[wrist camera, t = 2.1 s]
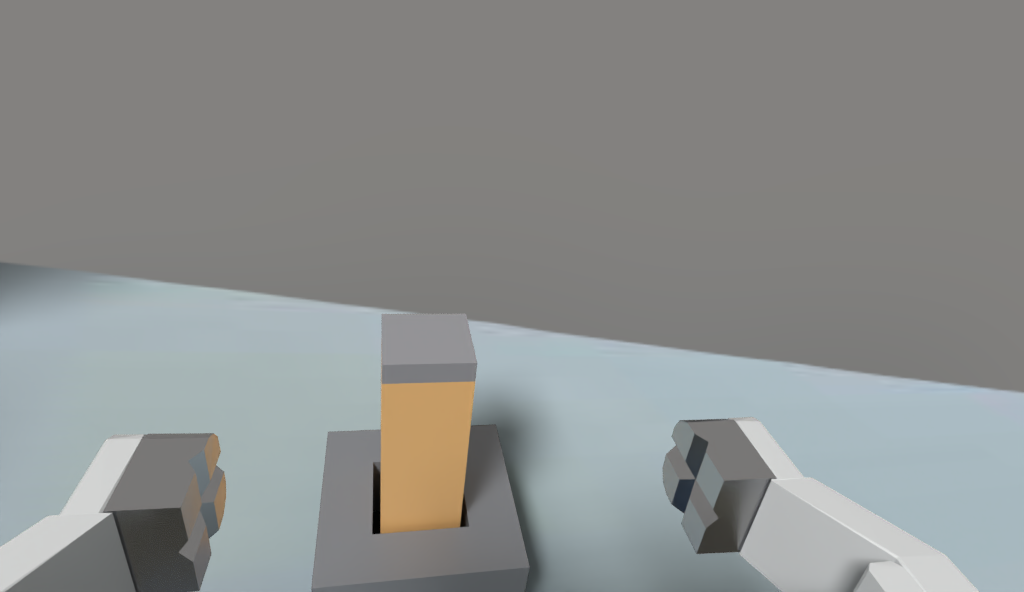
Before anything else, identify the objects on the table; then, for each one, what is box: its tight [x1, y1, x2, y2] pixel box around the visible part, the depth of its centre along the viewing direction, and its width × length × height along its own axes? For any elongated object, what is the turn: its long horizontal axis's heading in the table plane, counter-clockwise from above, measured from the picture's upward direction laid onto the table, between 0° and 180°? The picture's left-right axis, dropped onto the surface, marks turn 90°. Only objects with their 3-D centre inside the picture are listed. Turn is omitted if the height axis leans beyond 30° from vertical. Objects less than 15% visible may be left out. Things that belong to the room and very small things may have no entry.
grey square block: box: [311, 425, 530, 592], centre depth 33 cm, size 10×10×4 cm
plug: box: [380, 314, 477, 534], centre depth 30 cm, size 4×4×14 cm
